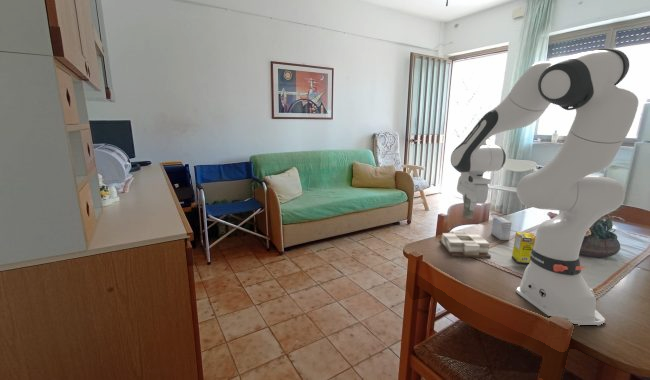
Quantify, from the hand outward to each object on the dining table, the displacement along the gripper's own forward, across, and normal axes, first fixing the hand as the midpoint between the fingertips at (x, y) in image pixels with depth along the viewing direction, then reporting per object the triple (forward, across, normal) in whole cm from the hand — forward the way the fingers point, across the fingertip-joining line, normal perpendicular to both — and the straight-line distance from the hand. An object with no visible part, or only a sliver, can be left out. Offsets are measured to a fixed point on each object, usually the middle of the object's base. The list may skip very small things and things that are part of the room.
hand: (468, 208), depth 124 cm
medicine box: (+19, -15, +23) cm, 33 cm away
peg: (+4, 0, 0) cm, 4 cm away
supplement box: (+19, +10, +19) cm, 28 cm away
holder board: (+18, 0, 0) cm, 18 cm away
